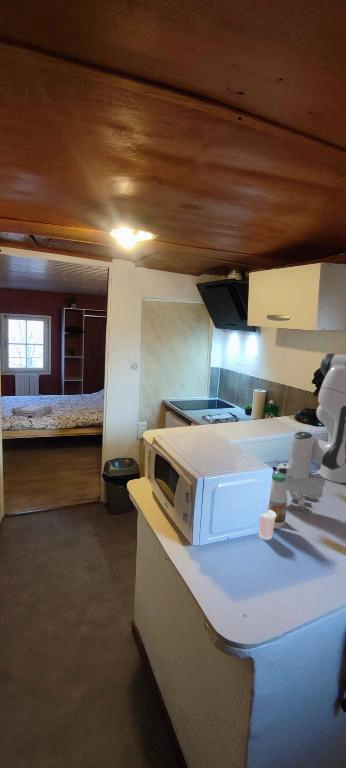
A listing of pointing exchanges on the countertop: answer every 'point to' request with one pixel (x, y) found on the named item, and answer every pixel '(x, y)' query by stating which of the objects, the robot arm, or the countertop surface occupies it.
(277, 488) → the milk bottle
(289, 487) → the robot arm
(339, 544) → the countertop surface
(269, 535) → the beverage cup
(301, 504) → the tab
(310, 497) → the switch bank
